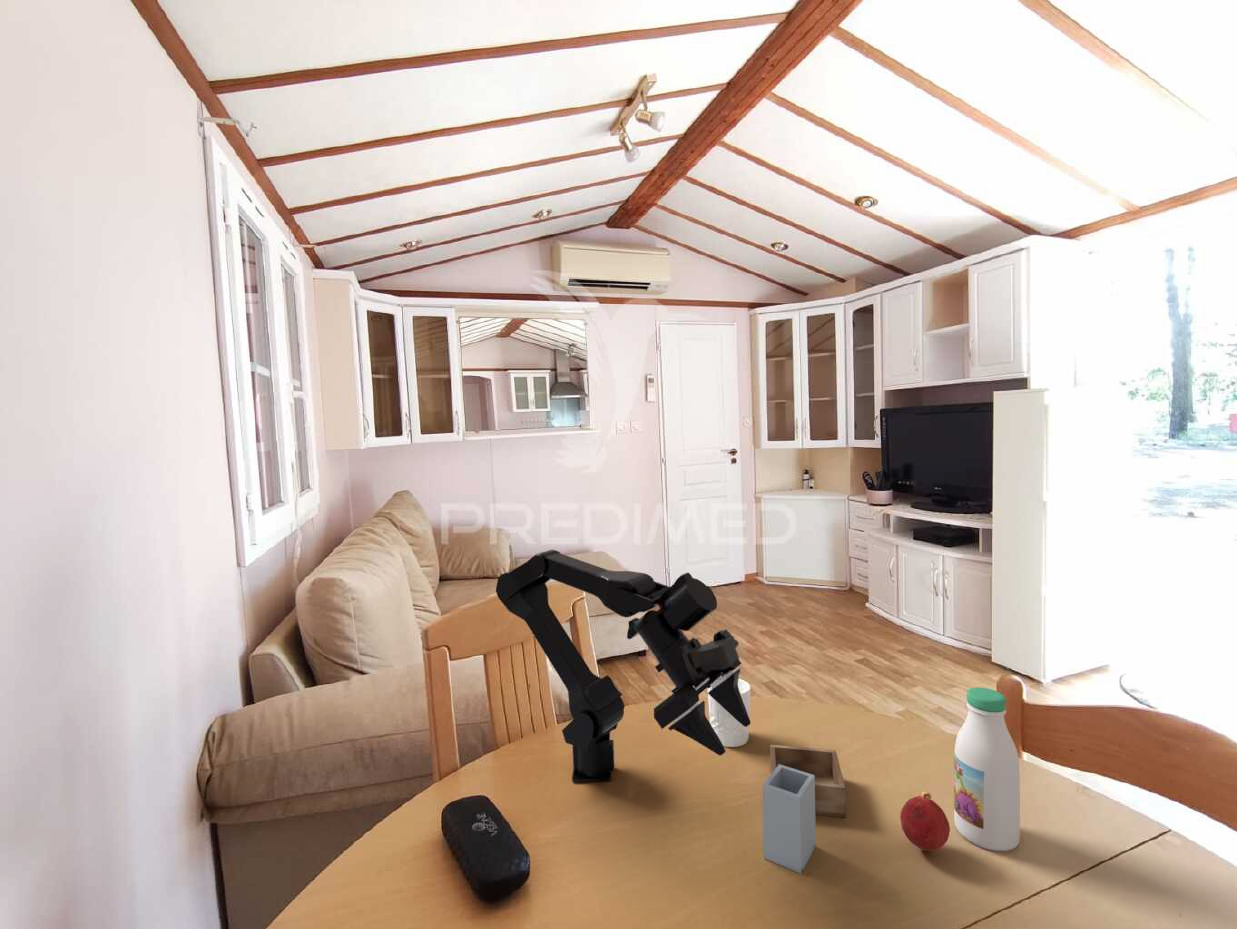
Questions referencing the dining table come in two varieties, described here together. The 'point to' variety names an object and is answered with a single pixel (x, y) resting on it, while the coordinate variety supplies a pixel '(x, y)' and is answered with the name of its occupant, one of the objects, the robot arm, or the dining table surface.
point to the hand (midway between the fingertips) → (736, 738)
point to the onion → (924, 822)
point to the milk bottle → (987, 775)
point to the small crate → (789, 817)
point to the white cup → (730, 719)
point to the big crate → (816, 775)
